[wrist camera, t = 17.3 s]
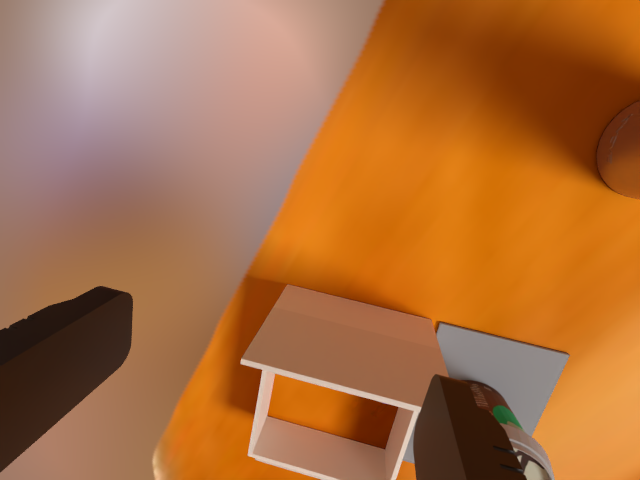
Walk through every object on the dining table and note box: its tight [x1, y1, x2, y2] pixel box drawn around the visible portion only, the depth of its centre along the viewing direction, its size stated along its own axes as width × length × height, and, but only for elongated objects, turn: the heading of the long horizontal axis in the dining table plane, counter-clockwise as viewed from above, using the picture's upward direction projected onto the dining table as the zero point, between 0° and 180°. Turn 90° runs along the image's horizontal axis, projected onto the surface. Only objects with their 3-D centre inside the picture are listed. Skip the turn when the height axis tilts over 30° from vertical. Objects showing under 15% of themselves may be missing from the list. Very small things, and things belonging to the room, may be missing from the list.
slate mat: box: [403, 322, 570, 464], centre depth 42 cm, size 14×20×1 cm
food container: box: [461, 380, 555, 480], centre depth 37 cm, size 12×6×10 cm, turn 13°
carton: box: [240, 284, 449, 480], centre depth 38 cm, size 17×27×15 cm, turn 169°
